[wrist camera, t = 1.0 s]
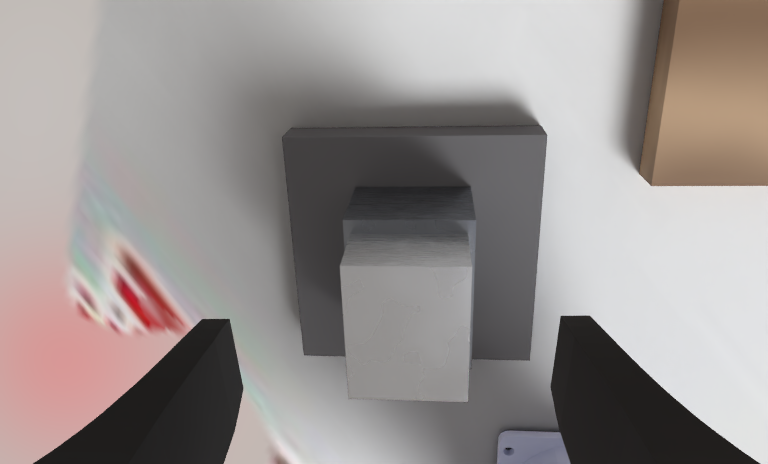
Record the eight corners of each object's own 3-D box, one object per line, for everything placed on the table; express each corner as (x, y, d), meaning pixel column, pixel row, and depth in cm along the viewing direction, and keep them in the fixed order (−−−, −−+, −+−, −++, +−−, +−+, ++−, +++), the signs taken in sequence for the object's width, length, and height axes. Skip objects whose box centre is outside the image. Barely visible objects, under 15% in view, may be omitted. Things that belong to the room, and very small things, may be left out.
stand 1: (525, 341, 27) (529, 360, 26) (310, 336, 28) (303, 355, 27) (540, 125, 23) (547, 134, 22) (290, 128, 24) (282, 137, 23)
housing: (467, 319, 26) (475, 414, 20) (362, 318, 26) (342, 410, 20) (471, 186, 23) (481, 252, 18) (355, 186, 24) (330, 250, 18)
